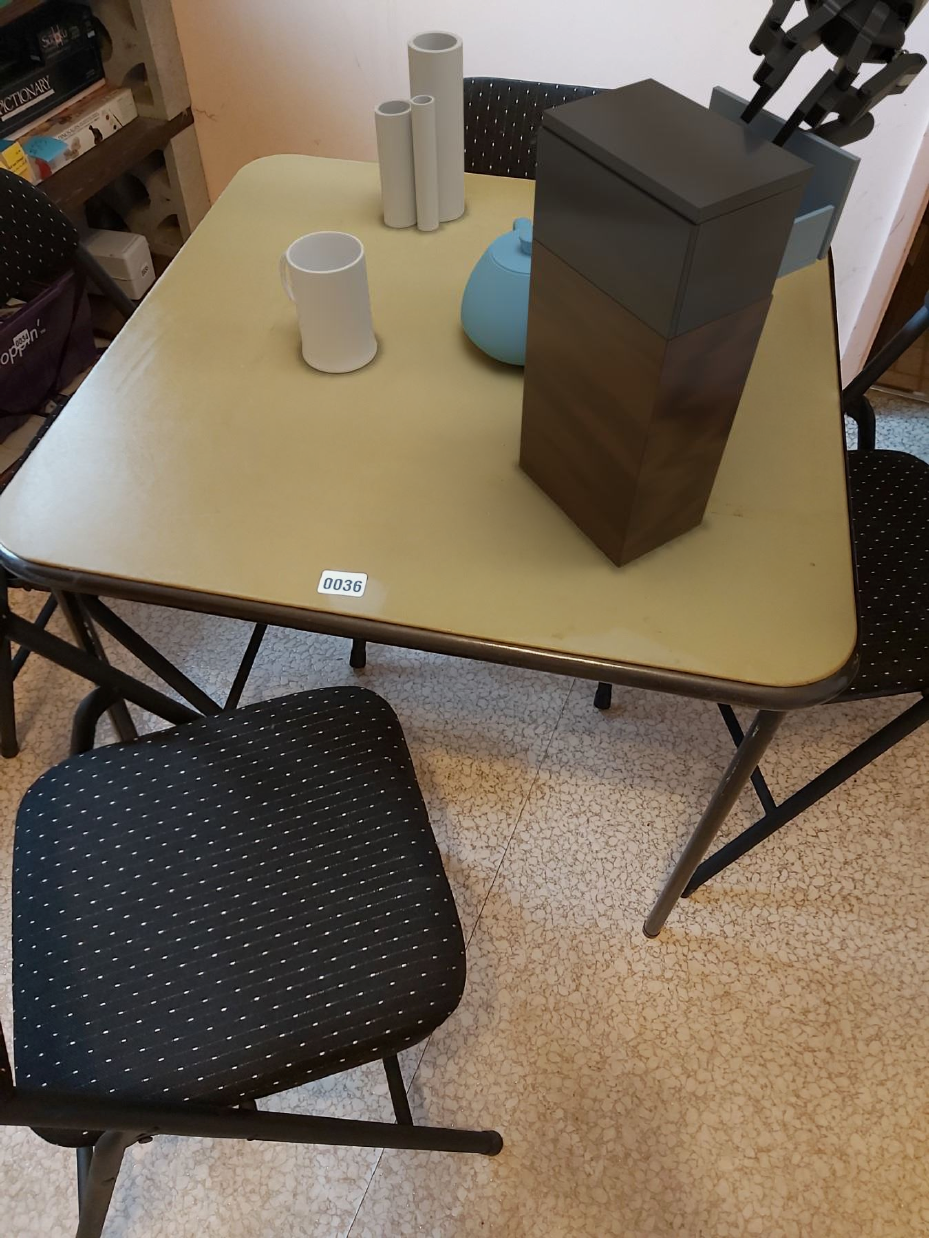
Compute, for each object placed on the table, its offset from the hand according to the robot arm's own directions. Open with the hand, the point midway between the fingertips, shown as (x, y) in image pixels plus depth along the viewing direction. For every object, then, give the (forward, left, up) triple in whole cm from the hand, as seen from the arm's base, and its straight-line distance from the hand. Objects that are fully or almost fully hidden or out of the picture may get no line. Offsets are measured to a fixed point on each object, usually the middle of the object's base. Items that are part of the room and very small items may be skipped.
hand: (772, 116), depth 56 cm
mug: (+27, +33, -34) cm, 54 cm away
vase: (+54, +19, -34) cm, 66 cm away
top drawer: (+4, -3, -9) cm, 10 cm away
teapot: (+25, +8, -34) cm, 43 cm away
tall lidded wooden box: (-1, +7, -33) cm, 34 cm away
